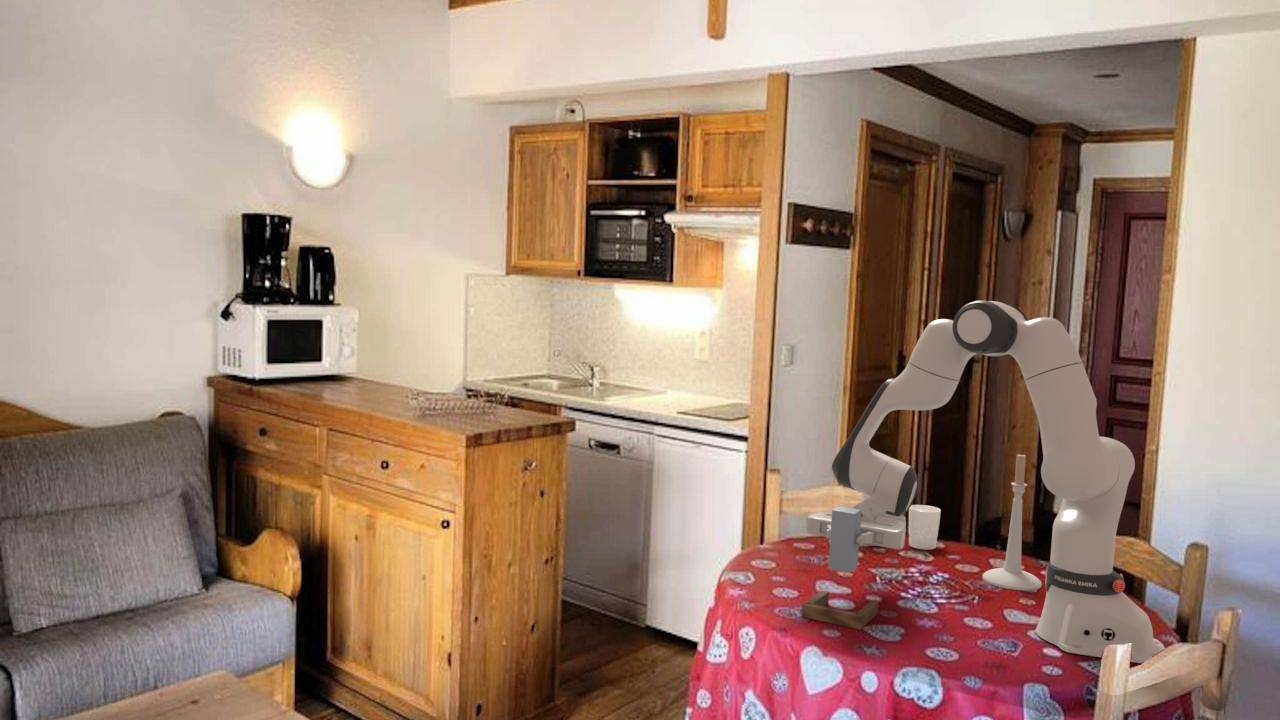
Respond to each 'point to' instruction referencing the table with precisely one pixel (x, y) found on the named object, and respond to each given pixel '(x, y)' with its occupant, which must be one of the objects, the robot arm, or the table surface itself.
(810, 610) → the wooden u-shaped frame
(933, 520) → the white cup
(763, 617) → the table surface
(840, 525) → the grey block
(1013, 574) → the candlestick
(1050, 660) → the table surface
